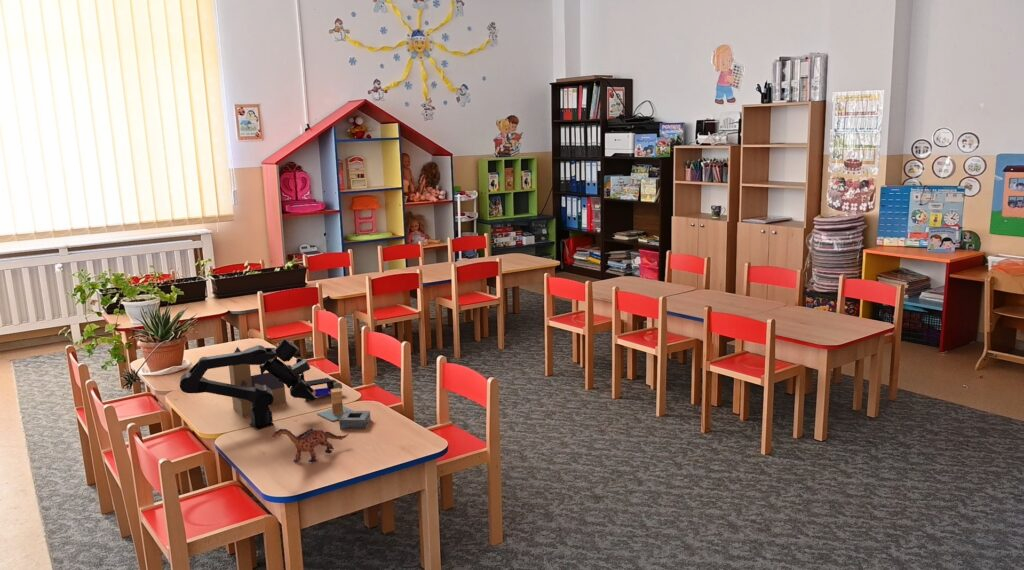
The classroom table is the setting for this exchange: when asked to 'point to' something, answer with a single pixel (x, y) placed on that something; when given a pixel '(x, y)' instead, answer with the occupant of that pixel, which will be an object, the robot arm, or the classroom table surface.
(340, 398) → the peg
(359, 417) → the socket block
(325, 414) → the pad
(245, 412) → the toy building blocks
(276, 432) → the toy dinosaur
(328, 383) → the figurine character
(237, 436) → the classroom table surface
